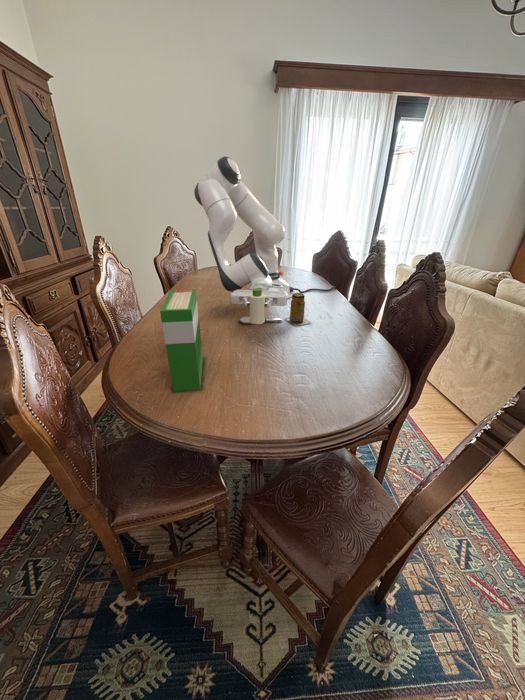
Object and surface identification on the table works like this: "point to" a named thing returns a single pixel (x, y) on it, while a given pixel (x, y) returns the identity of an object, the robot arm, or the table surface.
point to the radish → (257, 306)
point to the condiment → (297, 310)
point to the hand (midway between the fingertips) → (257, 305)
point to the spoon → (247, 321)
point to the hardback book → (183, 339)
